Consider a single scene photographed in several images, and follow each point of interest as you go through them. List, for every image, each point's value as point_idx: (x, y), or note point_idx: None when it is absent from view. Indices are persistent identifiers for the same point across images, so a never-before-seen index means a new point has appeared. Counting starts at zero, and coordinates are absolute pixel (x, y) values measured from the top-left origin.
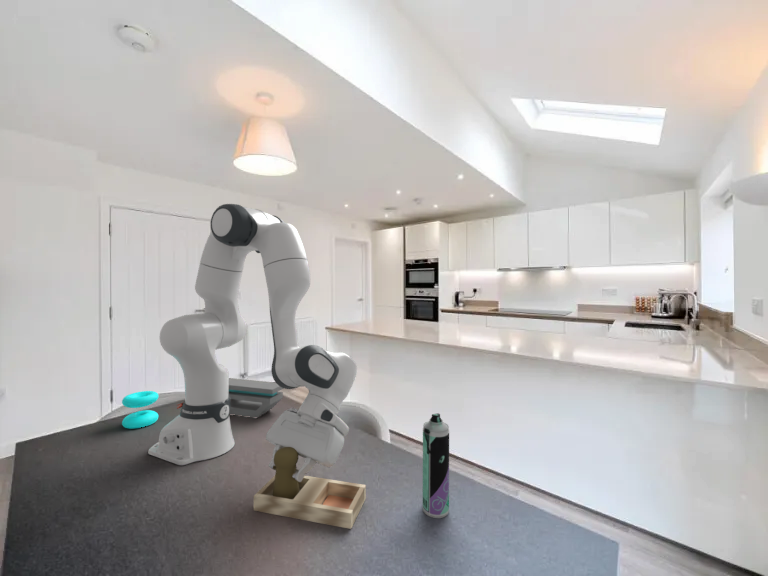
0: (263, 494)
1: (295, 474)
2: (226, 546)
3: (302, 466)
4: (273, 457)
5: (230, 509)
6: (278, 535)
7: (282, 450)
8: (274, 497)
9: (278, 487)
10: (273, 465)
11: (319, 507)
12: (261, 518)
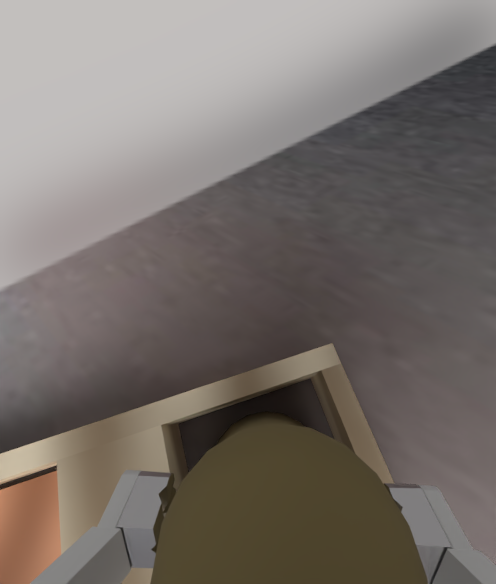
0: (307, 374)
1: (144, 489)
2: (248, 229)
3: (80, 566)
4: (471, 557)
5: (390, 315)
6: (152, 324)
7: (317, 559)
8: (247, 387)
9: (260, 425)
10: (392, 495)
11: (11, 451)
12: (260, 344)
